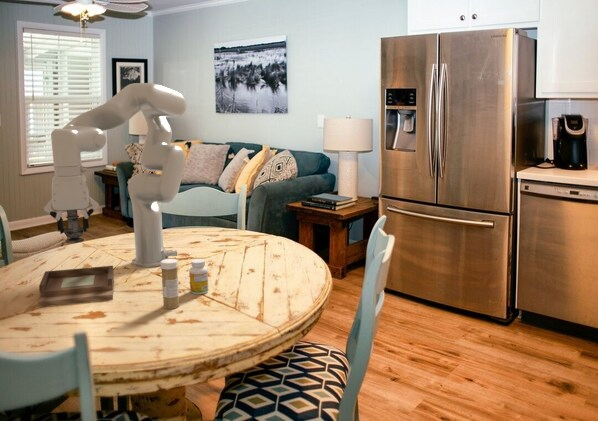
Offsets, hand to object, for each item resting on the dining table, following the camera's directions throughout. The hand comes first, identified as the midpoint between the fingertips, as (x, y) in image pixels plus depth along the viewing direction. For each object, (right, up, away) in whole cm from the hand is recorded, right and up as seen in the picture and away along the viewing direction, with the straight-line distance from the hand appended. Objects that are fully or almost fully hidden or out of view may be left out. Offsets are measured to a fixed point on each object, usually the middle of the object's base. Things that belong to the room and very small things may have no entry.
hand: (73, 231), depth 176 cm
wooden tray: (+1, -19, +2) cm, 19 cm away
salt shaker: (0, -3, +1) cm, 3 cm away
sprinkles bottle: (+31, -21, -9) cm, 39 cm away
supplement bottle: (+37, -18, +2) cm, 41 cm away
